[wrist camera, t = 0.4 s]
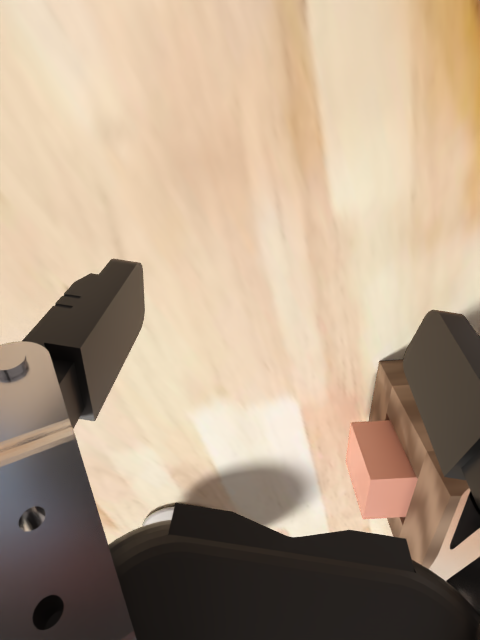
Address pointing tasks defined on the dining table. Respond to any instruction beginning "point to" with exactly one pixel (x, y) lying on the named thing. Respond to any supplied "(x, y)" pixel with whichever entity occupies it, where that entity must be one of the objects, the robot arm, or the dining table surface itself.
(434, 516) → the brown hollow block
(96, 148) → the dining table surface
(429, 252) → the dining table surface
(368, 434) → the salmon pink block
